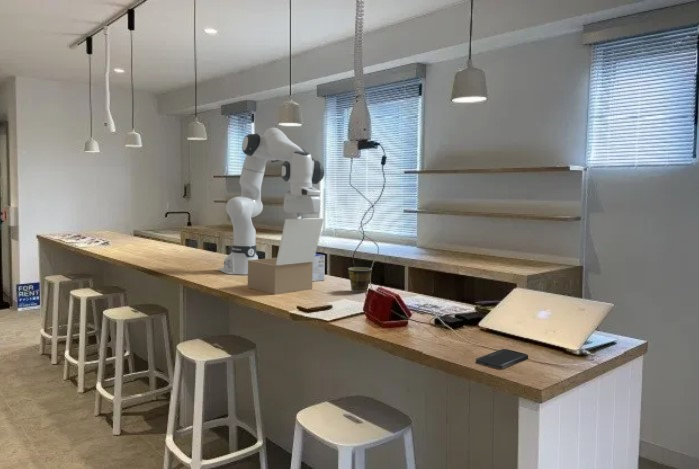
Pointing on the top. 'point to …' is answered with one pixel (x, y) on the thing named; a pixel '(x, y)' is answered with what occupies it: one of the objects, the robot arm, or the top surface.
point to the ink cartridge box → (318, 268)
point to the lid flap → (299, 240)
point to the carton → (279, 276)
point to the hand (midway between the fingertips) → (300, 224)
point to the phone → (502, 358)
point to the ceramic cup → (359, 279)
